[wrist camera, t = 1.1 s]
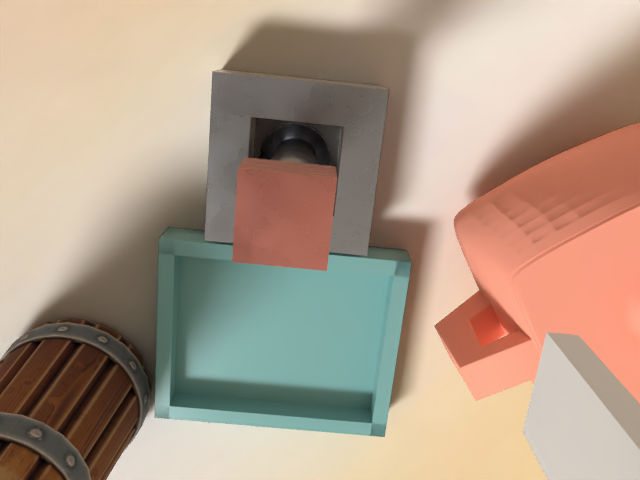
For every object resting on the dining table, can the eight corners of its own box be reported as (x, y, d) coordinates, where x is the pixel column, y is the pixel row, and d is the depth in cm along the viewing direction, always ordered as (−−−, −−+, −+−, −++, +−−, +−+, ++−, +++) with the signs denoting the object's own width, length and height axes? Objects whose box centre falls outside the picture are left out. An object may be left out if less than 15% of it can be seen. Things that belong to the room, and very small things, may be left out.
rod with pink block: (258, 187, 40) (226, 266, 26) (263, 119, 39) (233, 162, 24) (325, 194, 40) (331, 275, 26) (333, 126, 39) (342, 173, 25)
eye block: (213, 224, 41) (204, 240, 37) (221, 69, 38) (212, 71, 34) (362, 238, 41) (367, 255, 38) (382, 86, 38) (388, 89, 35)
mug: (44, 287, 42) (-96, 411, 28) (180, 359, 44) (115, 510, 30) (-42, 452, 46) (-203, 634, 32) (87, 512, 48) (-11, 711, 34)
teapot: (704, 63, 38) (919, 73, 24) (761, 236, 41) (977, 328, 28) (384, 223, 41) (418, 312, 27) (462, 372, 44) (525, 516, 31)
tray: (163, 397, 45) (154, 417, 42) (168, 227, 41) (158, 238, 38) (380, 416, 45) (384, 436, 43) (406, 250, 41) (411, 262, 39)
